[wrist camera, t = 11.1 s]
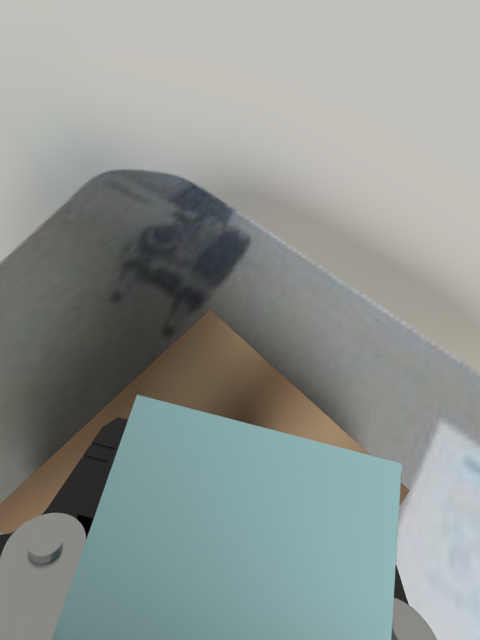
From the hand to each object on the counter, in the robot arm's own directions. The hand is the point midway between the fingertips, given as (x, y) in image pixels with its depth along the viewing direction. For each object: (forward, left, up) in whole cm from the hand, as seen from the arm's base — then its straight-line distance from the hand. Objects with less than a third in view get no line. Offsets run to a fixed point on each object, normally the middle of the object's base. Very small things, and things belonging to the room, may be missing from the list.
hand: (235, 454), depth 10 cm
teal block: (-1, +2, -4) cm, 5 cm away
